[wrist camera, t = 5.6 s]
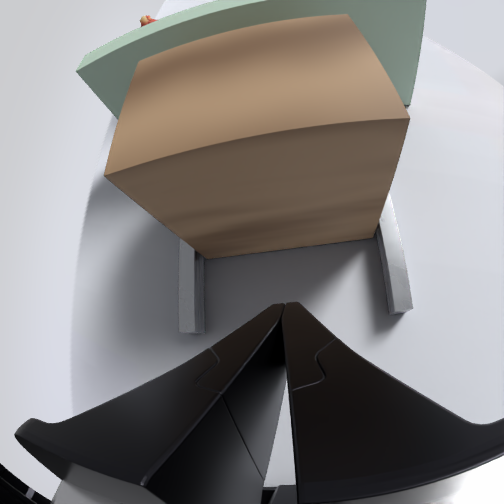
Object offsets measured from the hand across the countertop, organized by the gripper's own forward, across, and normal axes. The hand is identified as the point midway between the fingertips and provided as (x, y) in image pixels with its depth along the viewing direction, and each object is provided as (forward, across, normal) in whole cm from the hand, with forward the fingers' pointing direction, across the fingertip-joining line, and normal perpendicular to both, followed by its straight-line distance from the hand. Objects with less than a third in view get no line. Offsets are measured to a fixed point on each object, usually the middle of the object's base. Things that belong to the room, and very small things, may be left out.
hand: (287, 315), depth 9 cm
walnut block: (+11, 0, +1) cm, 11 cm away
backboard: (+16, 0, +7) cm, 18 cm away
